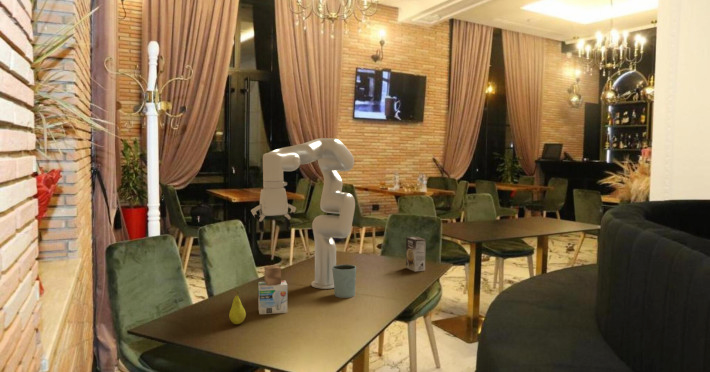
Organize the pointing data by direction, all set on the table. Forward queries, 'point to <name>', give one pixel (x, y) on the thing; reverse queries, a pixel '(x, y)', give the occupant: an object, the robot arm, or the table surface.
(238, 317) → the fruit
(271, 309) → the light bulb box
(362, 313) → the table surface
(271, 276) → the walnut block
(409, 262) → the coffee box
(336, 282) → the blue cup
